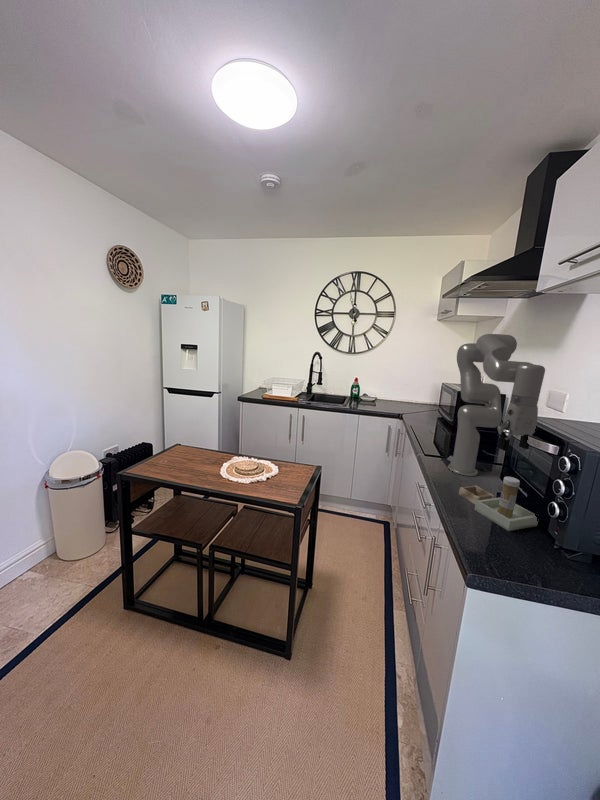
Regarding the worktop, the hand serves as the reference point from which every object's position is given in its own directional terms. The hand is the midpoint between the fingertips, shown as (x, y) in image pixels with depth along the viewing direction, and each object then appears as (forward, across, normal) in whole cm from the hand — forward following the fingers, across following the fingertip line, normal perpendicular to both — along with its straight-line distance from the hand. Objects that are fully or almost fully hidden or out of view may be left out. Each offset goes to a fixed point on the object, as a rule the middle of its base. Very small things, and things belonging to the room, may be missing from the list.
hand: (513, 448), depth 108 cm
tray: (+23, -4, -5) cm, 24 cm away
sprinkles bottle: (+22, -4, -5) cm, 23 cm away
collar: (+24, -3, +8) cm, 25 cm away
